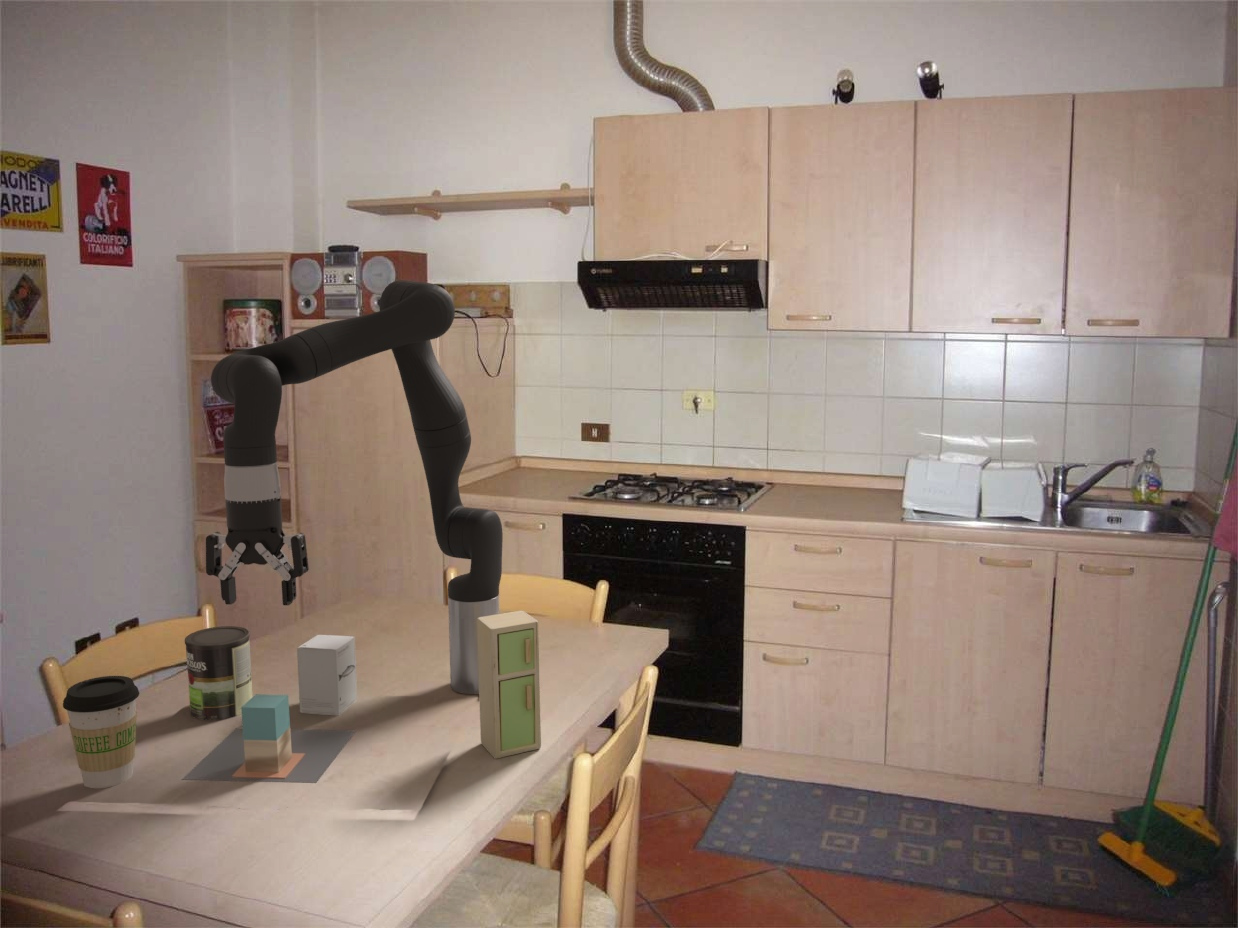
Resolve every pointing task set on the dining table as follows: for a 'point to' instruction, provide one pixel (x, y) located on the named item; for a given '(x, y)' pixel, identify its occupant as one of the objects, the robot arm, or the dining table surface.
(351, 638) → the supplement box
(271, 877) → the dining table surface
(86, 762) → the coffee cup
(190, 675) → the coffee can
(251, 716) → the teal block
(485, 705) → the toy refrigerator
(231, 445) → the robot arm
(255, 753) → the ash block
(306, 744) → the baseplate
